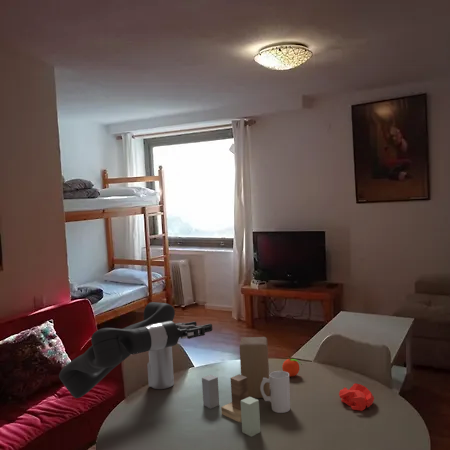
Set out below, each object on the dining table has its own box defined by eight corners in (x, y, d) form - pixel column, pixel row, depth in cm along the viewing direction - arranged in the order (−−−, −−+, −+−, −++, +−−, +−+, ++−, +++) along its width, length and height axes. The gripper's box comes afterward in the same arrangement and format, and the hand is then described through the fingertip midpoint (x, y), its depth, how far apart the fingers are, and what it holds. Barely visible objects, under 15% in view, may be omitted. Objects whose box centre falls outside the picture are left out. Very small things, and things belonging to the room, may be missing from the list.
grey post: (210, 408, 158) (208, 380, 158) (203, 405, 161) (201, 377, 161) (219, 405, 161) (217, 377, 160) (212, 401, 164) (210, 374, 163)
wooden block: (269, 387, 173) (267, 336, 172) (269, 398, 163) (266, 344, 162) (243, 387, 174) (240, 336, 173) (242, 399, 164) (239, 344, 163)
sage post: (251, 436, 138) (249, 404, 137) (242, 432, 141) (240, 400, 140) (260, 431, 140) (258, 400, 140) (251, 427, 143) (249, 396, 143)
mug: (290, 404, 158) (289, 370, 157) (291, 413, 151) (289, 378, 151) (262, 404, 159) (260, 370, 159) (260, 413, 153) (259, 378, 152)
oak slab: (239, 424, 147) (239, 415, 147) (221, 415, 154) (221, 406, 154) (259, 414, 153) (258, 405, 153) (241, 406, 160) (240, 398, 159)
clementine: (303, 373, 186) (302, 356, 186) (302, 379, 179) (301, 362, 179) (283, 372, 188) (282, 355, 187) (281, 379, 181) (280, 361, 181)
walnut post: (240, 410, 150) (238, 381, 149) (232, 406, 153) (230, 377, 152) (249, 406, 153) (247, 377, 152) (241, 402, 156) (239, 374, 155)
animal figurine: (369, 393, 164) (369, 379, 164) (377, 411, 149) (376, 396, 149) (337, 392, 166) (336, 379, 166) (341, 410, 151) (340, 396, 151)
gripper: (148, 345, 140) (192, 335, 150) (173, 351, 128) (218, 340, 138) (146, 321, 140) (190, 312, 150) (170, 325, 129) (216, 315, 139)
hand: (203, 325), depth 144 cm, fingers open, 8 cm apart
